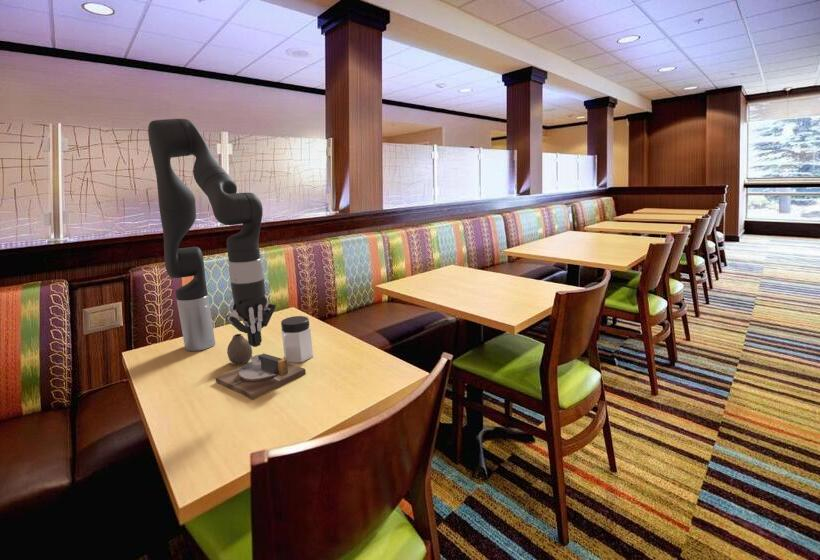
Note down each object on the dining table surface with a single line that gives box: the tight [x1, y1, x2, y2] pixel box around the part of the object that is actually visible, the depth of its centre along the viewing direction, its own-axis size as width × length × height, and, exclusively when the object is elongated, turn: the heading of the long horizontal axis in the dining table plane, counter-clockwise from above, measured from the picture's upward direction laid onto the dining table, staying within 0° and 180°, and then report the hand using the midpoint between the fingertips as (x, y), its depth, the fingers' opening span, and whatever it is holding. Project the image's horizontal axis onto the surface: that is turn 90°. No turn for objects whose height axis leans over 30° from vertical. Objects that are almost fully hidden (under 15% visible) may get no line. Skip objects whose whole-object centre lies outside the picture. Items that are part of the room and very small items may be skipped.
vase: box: [226, 333, 253, 366], centre depth 128 cm, size 7×7×9 cm
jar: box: [280, 315, 314, 363], centre depth 130 cm, size 9×8×12 cm
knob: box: [239, 353, 288, 382], centre depth 116 cm, size 16×11×6 cm
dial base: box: [214, 362, 307, 400], centre depth 118 cm, size 17×17×2 cm
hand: (255, 345), depth 106 cm, fingers closed
